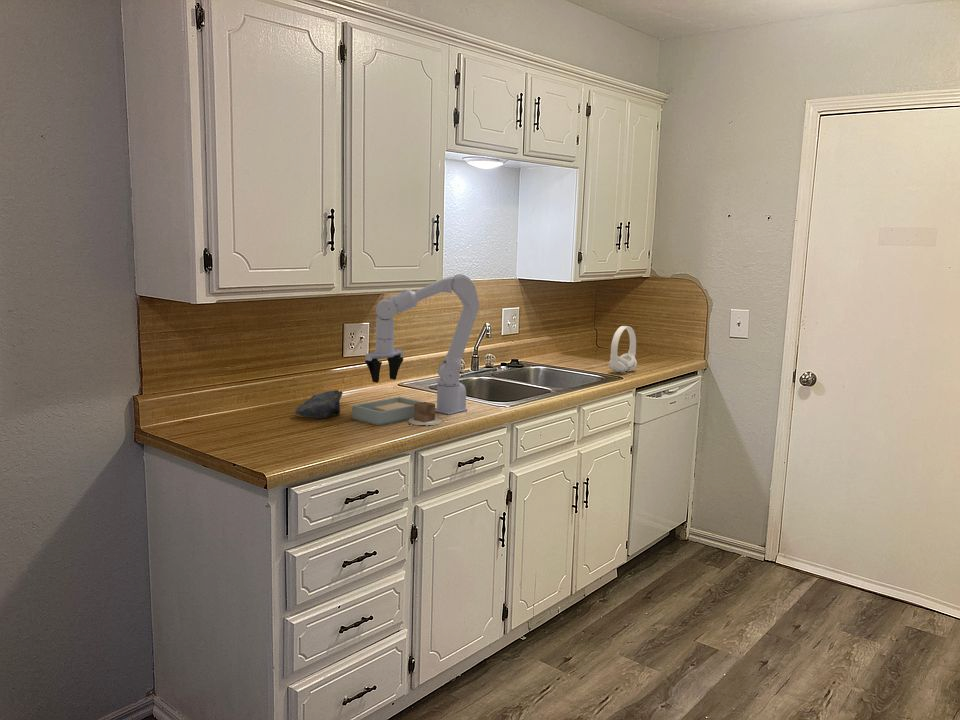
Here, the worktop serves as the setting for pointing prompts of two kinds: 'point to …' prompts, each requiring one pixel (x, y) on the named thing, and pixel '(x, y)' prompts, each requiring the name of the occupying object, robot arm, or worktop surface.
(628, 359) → the headphones
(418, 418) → the block
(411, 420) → the coaster
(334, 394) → the rock
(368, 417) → the caddy
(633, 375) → the worktop surface
